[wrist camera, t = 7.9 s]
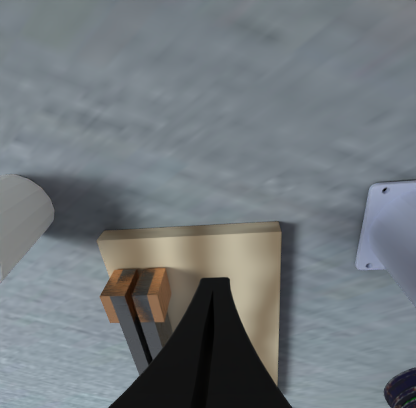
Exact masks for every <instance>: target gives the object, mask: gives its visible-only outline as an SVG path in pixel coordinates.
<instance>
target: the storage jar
mask: <svg viewBox="0 0 416 408" xmlns="http://www.w3.org/2000/svg"><path fill="white" fill-rule="evenodd" d="M384 396H385V399H386V401H387V403H388V405H389V406H390V407H391V408H416V368H412V369H409V370H407V371H404V372H402V373H400V374H398V375H397V376H395V377H394V378H392V379H391V380H390V381H389V382H388V383H387V385H386V387H385V389H384Z"/></svg>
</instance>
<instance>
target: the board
mask: <svg viewBox="0 0 416 408" xmlns="http://www.w3.org/2000/svg"><path fill="white" fill-rule="evenodd" d="M97 244H98V246H99V249H100V252H101V255H102V257H103V260H104V263H105V266H106V268H107V271H108V274H109V277H111V275H112V273H113V271H114V270H124V269H137V272H138V276H139V277H140V274H141V272H142V270H143V269H152V268H166V272H167V276H168V281H169V285H170V289H171V298H170V302H169V306H168V310H167V312H168V316H169V320H170V324H171V328H172V332H174V330H175V329H176V327H177V326H178V324H179V322H180V321H181V319H182V317H183V315H184V314H185V312H186V310H187V308H188V306H189V304H190V302H191V300H192V298H193V296H194V294H195V292H196V289H197V287H198V285H199V282H200V279H202V278H213V277H228V278H229V279H230V287H231V292H232V296H233V300H234V303H235V306H236V309H237V311H238V314H239V317H240V319H241V322H242V324H243V326H244V328H245V331H246V333H247V335H248V337H249V339H250V341H251V343H252V345H253V347H254V349H255V351H256V352H257V354H258V356H259V358H260V360H261V361H262V363H263V365H264V366H265V368H266V369H267V371H268V373H269V374H270V376H271V378H272V379H273V381H274V382H275V384H276V385H277V381H278V343H279V305H280V267H281V229H280V225H279V222H278V221H276V222H258V223H239V224H220V225H201V226H182V227H163V228H145V229H126V230H107V231H103V233H102V234H101V235H100V237H99V238H98V239H97Z"/></svg>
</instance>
